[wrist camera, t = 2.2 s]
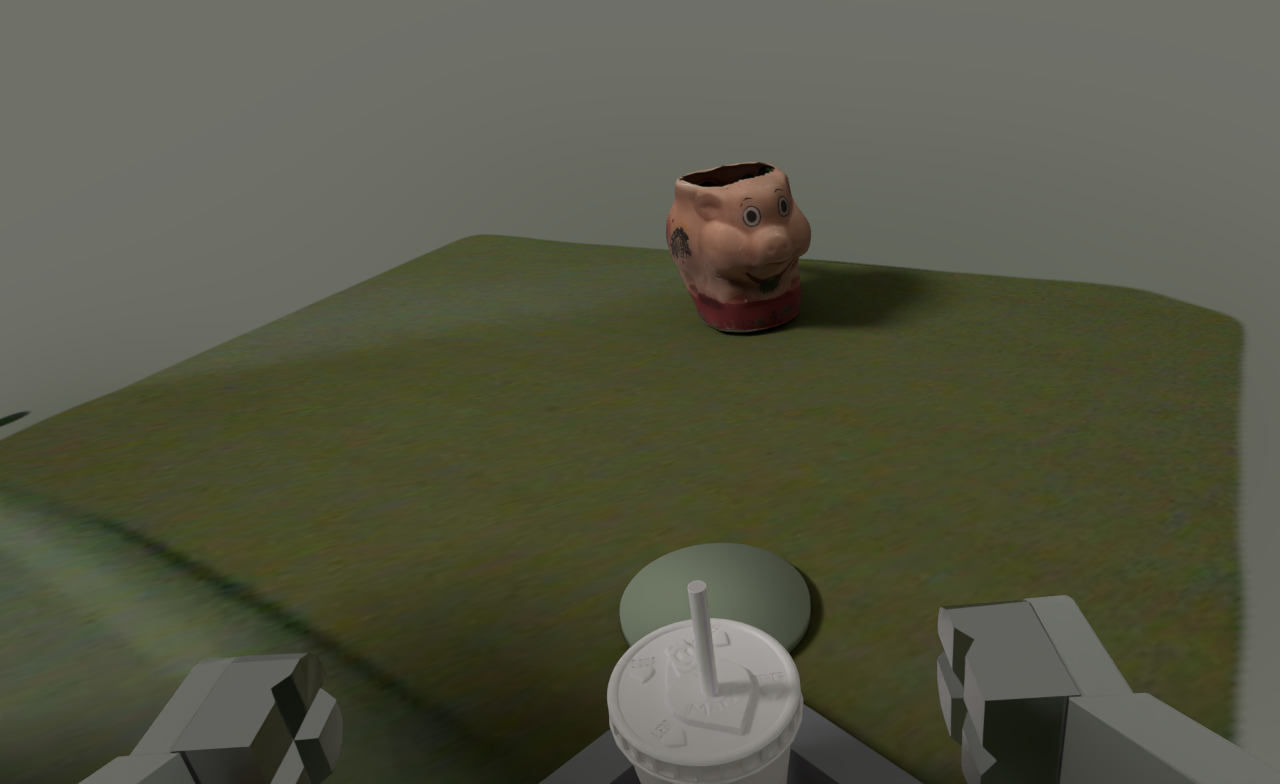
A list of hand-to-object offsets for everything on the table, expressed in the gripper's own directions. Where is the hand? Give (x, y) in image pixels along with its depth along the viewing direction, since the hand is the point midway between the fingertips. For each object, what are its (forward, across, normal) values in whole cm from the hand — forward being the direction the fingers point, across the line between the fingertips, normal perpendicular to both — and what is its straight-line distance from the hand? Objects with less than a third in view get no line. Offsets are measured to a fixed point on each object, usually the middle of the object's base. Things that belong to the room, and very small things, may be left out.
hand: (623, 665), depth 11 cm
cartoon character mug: (+70, -4, +22) cm, 73 cm away
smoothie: (+12, 0, +22) cm, 26 cm away
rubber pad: (+27, 0, +22) cm, 35 cm away
